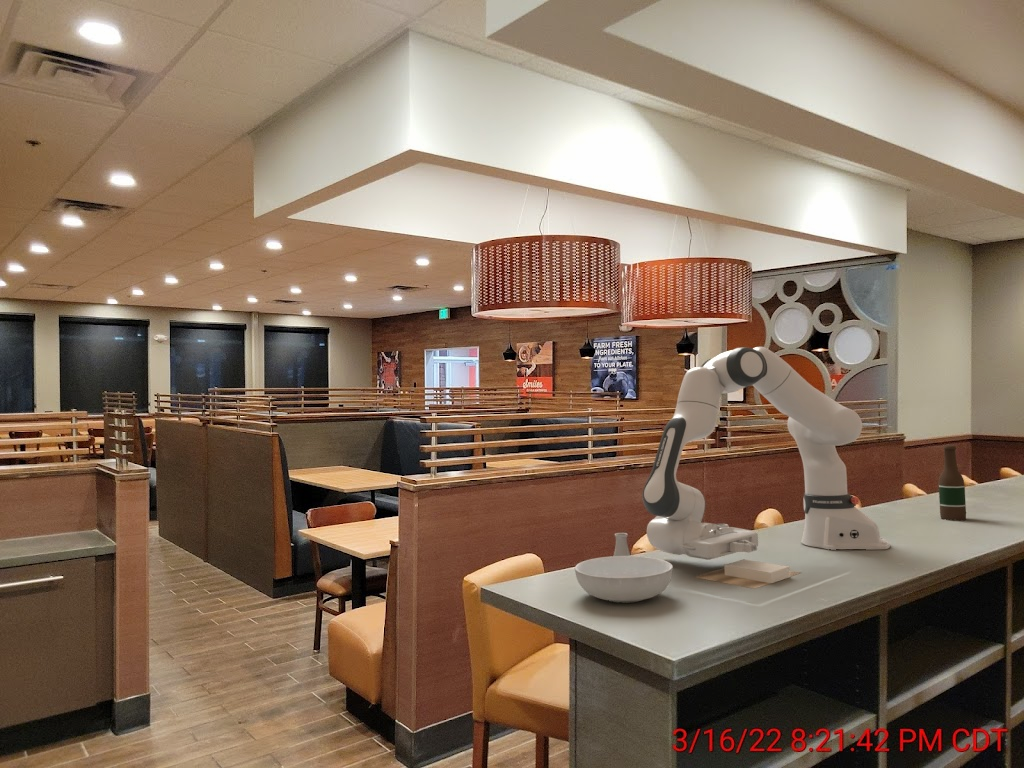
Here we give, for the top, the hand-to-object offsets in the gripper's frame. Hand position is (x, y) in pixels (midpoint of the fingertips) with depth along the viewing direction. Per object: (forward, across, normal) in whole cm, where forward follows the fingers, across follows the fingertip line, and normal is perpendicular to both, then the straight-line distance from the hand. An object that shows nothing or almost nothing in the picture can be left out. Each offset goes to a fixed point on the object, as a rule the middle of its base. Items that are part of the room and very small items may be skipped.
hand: (753, 547), depth 172 cm
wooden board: (-2, 0, +7) cm, 7 cm away
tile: (-6, 0, +5) cm, 8 cm away
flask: (-25, -18, +7) cm, 32 cm away
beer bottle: (+3, +113, +7) cm, 113 cm away
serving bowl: (-11, -33, +7) cm, 36 cm away
